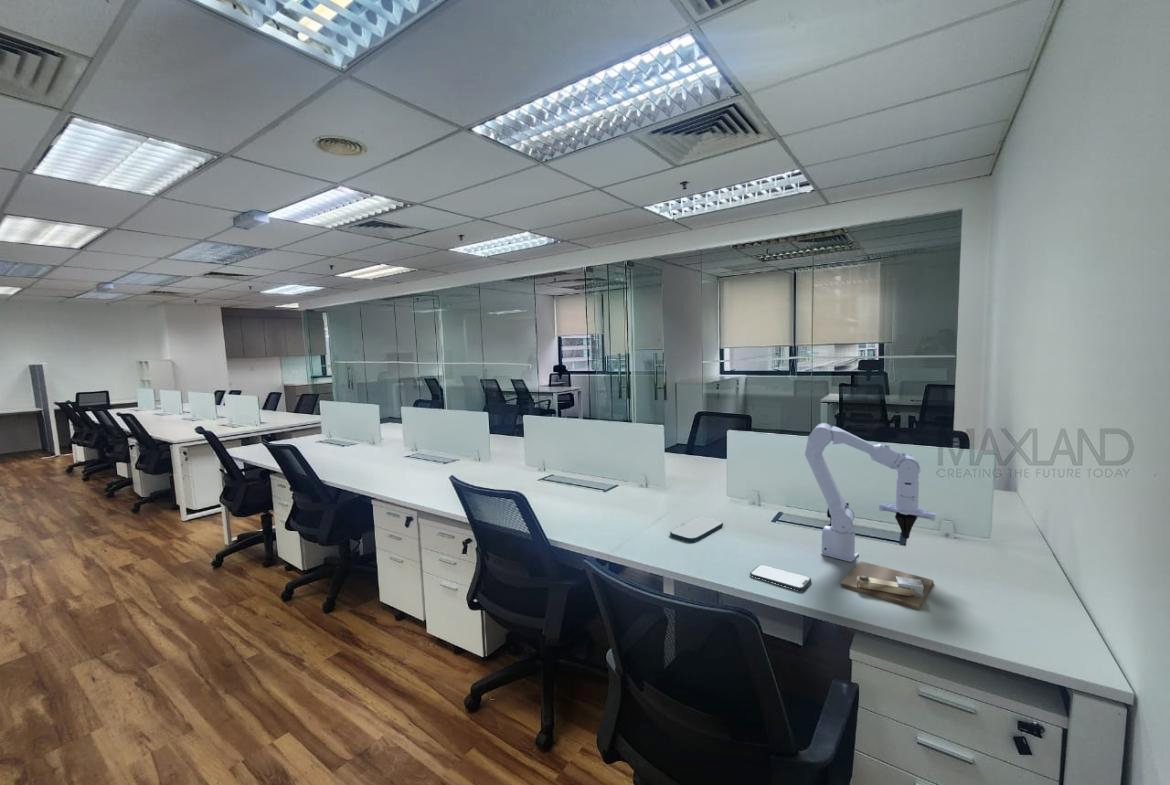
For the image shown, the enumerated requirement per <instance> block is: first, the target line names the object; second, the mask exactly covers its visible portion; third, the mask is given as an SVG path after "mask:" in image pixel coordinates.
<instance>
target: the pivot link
mask: <svg viewBox="0 0 1170 785" xmlns="http://www.w3.org/2000/svg"><path fill="white" fill-rule="evenodd" d="M857 586H858V587H861V588H864V589H872V590H878V591H884V592H889V593H895V594H900V595H906V596H911V588H907V587H901V586H898V584H897V582H892V581H887V580H881V579H875V578H869V577H867V576H863V575H861V576H858V577H857Z"/></svg>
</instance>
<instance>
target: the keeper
mask: <svg viewBox="0 0 1170 785" xmlns="http://www.w3.org/2000/svg"><path fill="white" fill-rule="evenodd" d="M896 581H897V584H898V586H901V587H907V588H912V593H913V596H915V597H921V598H923V590H924V587H923V584H922V582H921V580H919V579H912V578H905V577H898V576H896Z"/></svg>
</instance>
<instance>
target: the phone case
mask: <svg viewBox="0 0 1170 785" xmlns="http://www.w3.org/2000/svg"><path fill="white" fill-rule="evenodd" d="M750 575H751V576H753V577H756V578H760V579H763V580H766V581H769V582H773V583H776V584H779V585H782V586H786V587H789V588H792V589H795V590H798V591H803V592H805V591H804V590H806V589H807V588H808V587H809V586H810V585H811V584H810V583H812V578H811V577H809V576H806V575H802V574H799V573H794V572H790V571H787V570H785V569H784V570H783V569H779V568H776V567H773V566H769V565H764V564H759V565H757V566H756V567H755V568H754V569H753V570H751V571H750V572H749V576H750ZM809 584H810V585H809ZM808 585H809V586H808ZM807 586H808V587H807ZM806 587H807V588H806ZM798 591H797V592H798Z"/></svg>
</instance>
